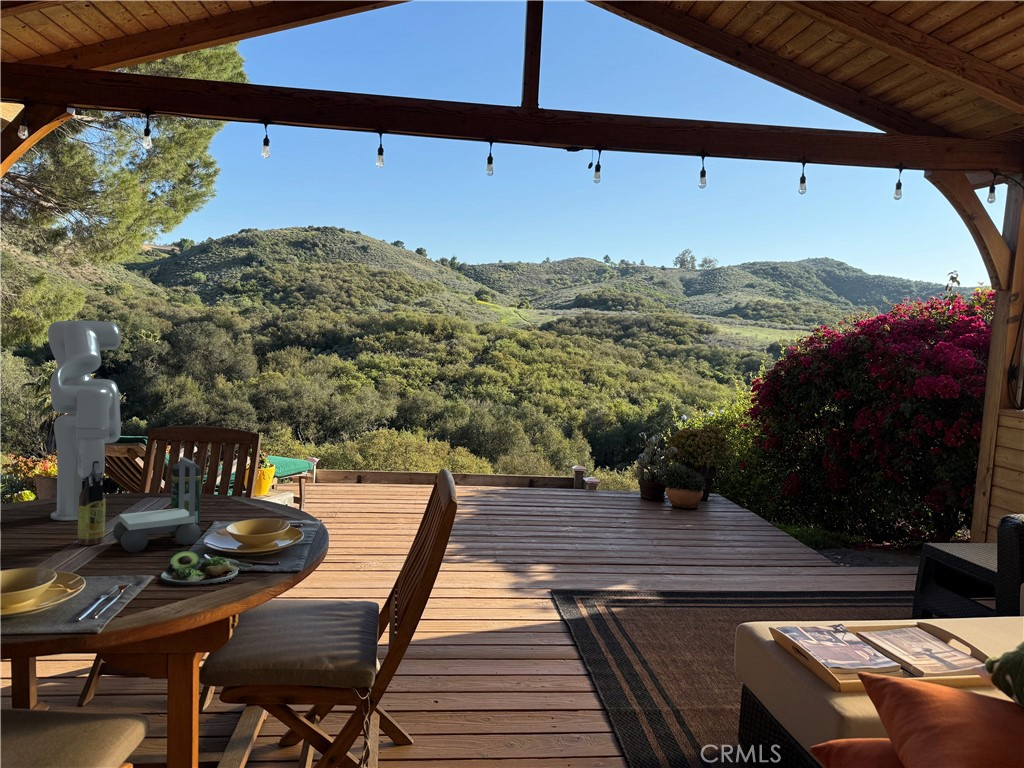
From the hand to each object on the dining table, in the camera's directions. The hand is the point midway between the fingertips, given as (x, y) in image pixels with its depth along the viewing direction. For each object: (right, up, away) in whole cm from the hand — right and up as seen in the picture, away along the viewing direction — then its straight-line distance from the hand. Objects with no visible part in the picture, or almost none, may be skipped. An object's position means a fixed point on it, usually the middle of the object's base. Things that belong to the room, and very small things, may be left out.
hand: (92, 497), depth 185 cm
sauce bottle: (-1, -12, +1) cm, 13 cm away
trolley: (+16, -13, +3) cm, 20 cm away
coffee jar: (+13, -12, +25) cm, 30 cm away
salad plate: (+38, -15, -20) cm, 45 cm away
